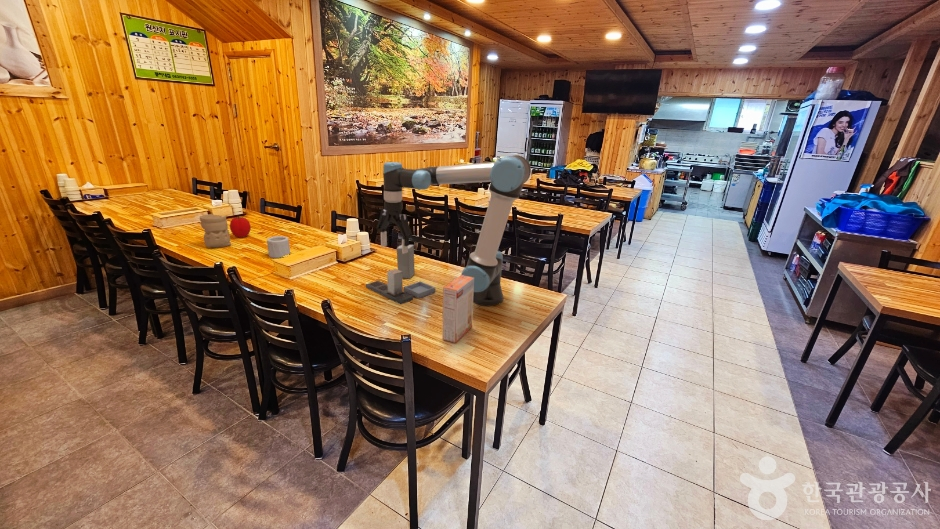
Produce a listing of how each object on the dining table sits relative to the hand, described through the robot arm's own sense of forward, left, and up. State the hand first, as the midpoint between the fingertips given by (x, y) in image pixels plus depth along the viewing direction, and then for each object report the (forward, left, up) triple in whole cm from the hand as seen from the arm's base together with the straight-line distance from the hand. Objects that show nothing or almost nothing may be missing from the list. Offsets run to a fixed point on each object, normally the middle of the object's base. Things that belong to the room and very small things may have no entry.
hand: (394, 249), depth 161 cm
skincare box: (+14, -18, -21) cm, 31 cm away
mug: (+86, +14, -21) cm, 89 cm away
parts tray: (-6, -9, -21) cm, 24 cm away
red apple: (+135, +15, -21) cm, 137 cm away
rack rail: (+2, +2, -21) cm, 21 cm away
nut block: (-2, +2, -21) cm, 21 cm away
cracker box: (-43, +6, -21) cm, 49 cm away
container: (+123, +32, -21) cm, 129 cm away
